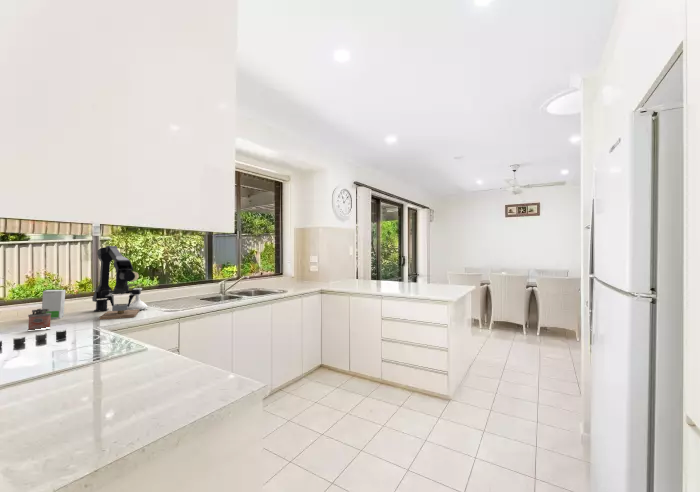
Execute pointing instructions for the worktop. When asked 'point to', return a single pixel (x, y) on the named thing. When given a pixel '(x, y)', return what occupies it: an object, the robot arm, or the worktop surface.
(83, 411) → the worktop surface
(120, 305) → the steel link
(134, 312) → the keeper board
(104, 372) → the worktop surface
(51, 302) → the skincare box
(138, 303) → the flower in vase
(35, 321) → the lighter
